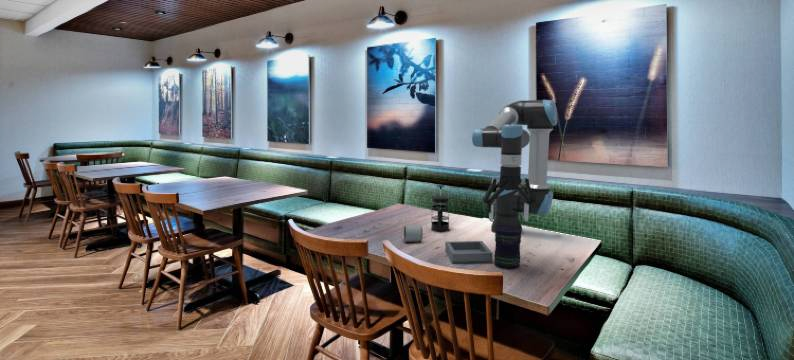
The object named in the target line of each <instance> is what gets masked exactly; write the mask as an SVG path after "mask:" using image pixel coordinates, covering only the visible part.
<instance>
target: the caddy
mask: <svg viewBox="0 0 794 360" xmlns="http://www.w3.org/2000/svg"><path fill="white" fill-rule="evenodd" d="M444 250H445V252H446V255H447V256H448V258H449V260H450V261H451V264H485V263H487V264H488V263H489V264H490V263H493V251H491V250H490V248H489V247H488V246H487V245H486V244H485V243H484V241H483V240H464V241H463V240H462V241H460V240H459V241H445V249H444Z"/></svg>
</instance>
